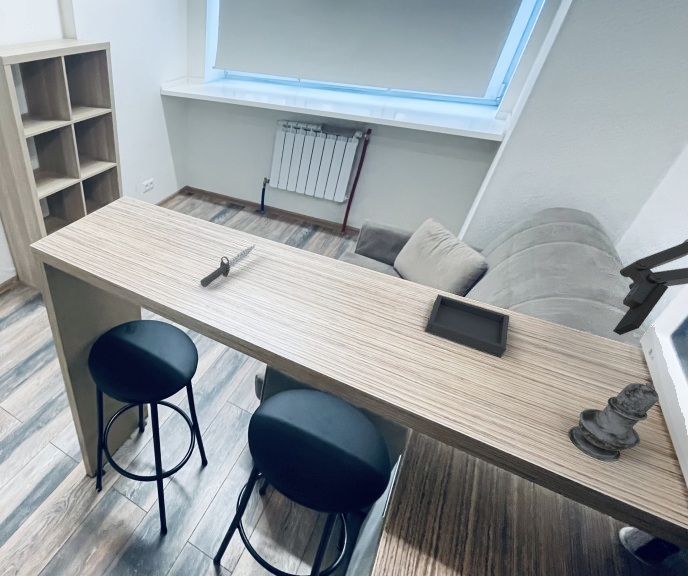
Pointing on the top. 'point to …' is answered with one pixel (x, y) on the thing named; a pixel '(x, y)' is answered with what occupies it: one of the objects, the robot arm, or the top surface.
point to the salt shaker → (614, 423)
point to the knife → (225, 267)
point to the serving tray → (469, 325)
